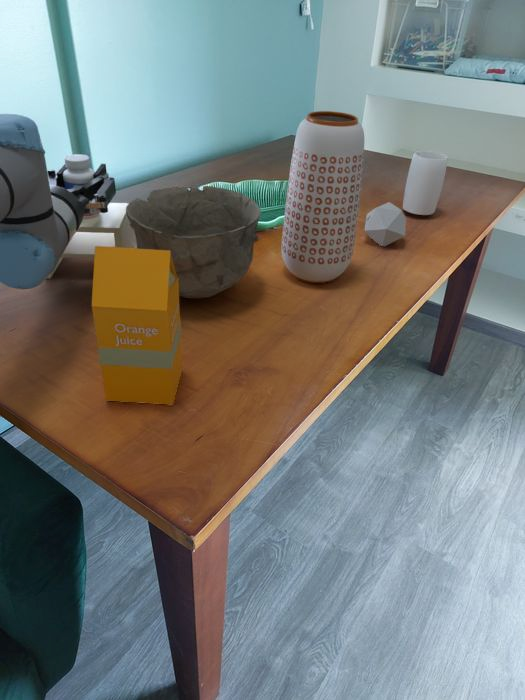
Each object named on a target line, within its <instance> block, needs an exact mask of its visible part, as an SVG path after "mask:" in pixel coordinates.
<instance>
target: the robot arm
mask: <svg viewBox="0 0 525 700" xmlns="http://www.w3.org/2000/svg"><path fill="white" fill-rule="evenodd" d="M45 155H46V151H45V149H44V146H43V143H42V138H41V134H40V129H39V125H38V124H37V123H36V121H35V120H34V119H33V118H30V117H29V116H26V115H24V114H23V115H22V114H17V113H0V283H1V284H3V285H5V286H7V287H9V288H11V289H16V290H17V289H18V290H30V289H35V288H36V287H39V286H40V285H42V284H43V283H44V282H45V281H46V280H47V279H48V278H47V277H48V276H49V275H50V274H51V273H52V272H53V271H54V270H55V267H56V265H57V263H58V261H59V259H60V258H61V256H62V254H63V252H64V251H65V249H66V247H67V245H68V244H69V242H70V241H71V239H72V237H73V235H74V234H75V233H76V231H77V230H78V228H79V226H80V225H81V223H82V220H83V216H84V215H85V214H87V213H88V212H89V211H90V209H95V208H96V210H100V212H101V213H107V212H108V207H107V206H108V205H109V203H112V200H113V199H114V198H115V196H116V194H117V189H116V180H115V177H112V176H109V173H108V171H107V164H106V163H100V165H99V166H98V167H97V169H96V171H95V173H94V179H93V180H91V181H89V182H88V183H86V184H84V185H83V186H75V187H74V188H72V189H67V190H66V189H65V186H64V180H63V172H64V171H65V170H66V169H67V167H66V165H65V163H64V164H63V165H62V167H61V168H60V169H58V170H57V171H56V170H55V169H49V170H48V167H47V161H46V156H45ZM55 271H56V270H55Z"/></svg>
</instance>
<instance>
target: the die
mask: <svg viewBox="0 0 525 700" xmlns="http://www.w3.org/2000/svg"><path fill="white" fill-rule="evenodd" d="M406 229H407V217H406V215H405V213H404V211H403V209H400V208H399V207H398V206H396V205H394V204H393V203H391V202H390V201H388V202H386V203H383V204H381V205H379V206H377V207H375V208H373V209H372V210H370V211H369V212H368V213H366V218H365V225H364V232H365V234H366V235H367V236H368V237H369V238H370V239H371V240H372V239H373V240H372V241H373V242H374V243H376V244H377V243H378V244H379V245H378V244H377V245H378V246H380V245H381V246H384V247H386V246H388V245H390V244H392V243H394V242H396V241H397V240H400V239H403V238H404V237H405V236H406V233H407V232H406ZM381 246H380V247H381Z"/></svg>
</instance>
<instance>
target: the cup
mask: <svg viewBox="0 0 525 700" xmlns="http://www.w3.org/2000/svg"><path fill="white" fill-rule="evenodd" d="M448 161H449V157H448V155H446V154H444V153H441V152H438V151H434V150H433V151H432V150H417V151H415V152H413V154H412V158H411V161H410V165H409V169H408V173H407V177H406V182H405V188H404V193H403V201H402V210H404V211H405V212H407V213H410V214H413V215H421V216H429V215H433V214H435V212H436V209H437V206H438V204H439V199H440V198H441V197H440V196H441V192H442V189H443V186H444V181H445V177H446V173H447V172H446V171H447V168H448V167H447V166H448Z"/></svg>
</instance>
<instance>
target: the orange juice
mask: <svg viewBox="0 0 525 700" xmlns="http://www.w3.org/2000/svg"><path fill="white" fill-rule="evenodd" d="M91 308H92V316H93V323H94V329H95V337H96V343H97V351H98V358H99V365H100V367H101V375H102V382H103V388H104V394H105V395H104V396H105V401H106V400H109V401H110V400H112V401H123V402H124V401H125V402H127V401H128V402H145V403H155V404H156V403H158V404H168V405H167V406H170V405H169V404H172V405H173V403H174V404H175V401H176V397H175V395H176V396H177V393H178V389H179V385H180V381H181V378H180V377H182V374H181V373H183V359H182V358H183V356H182V355H183V354H182V324H181V311H180V309H181V307H180V296H179V284H178V278H177V275H176V271H175V268H174V264H173V260H172V256H171V253H170V251H169V250H152V249H137V247H136V248H135V247H134V248H120V247H104V246H95V258H93V279H92V293H91ZM179 380H180V381H179ZM178 384H179V385H178ZM177 388H178V389H177ZM176 392H177V393H176ZM174 400H175V401H174ZM155 404H154V405H155ZM173 406H174V405H173Z"/></svg>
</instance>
